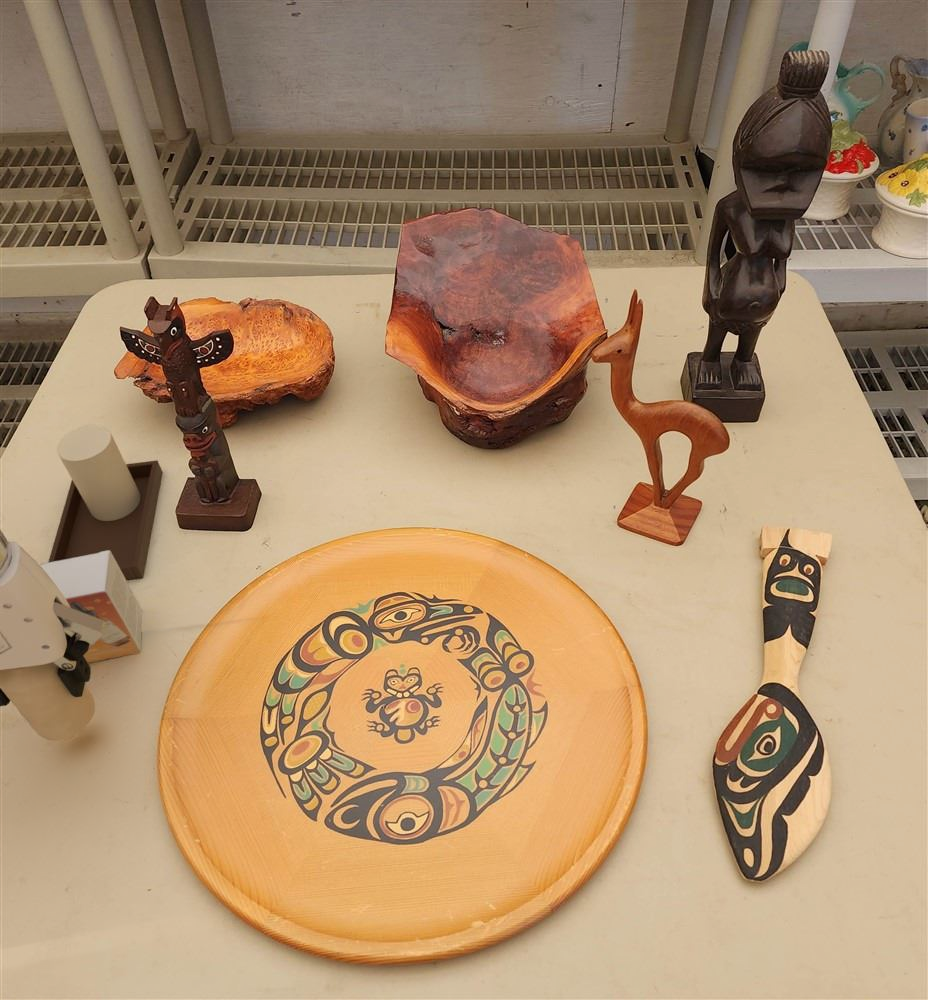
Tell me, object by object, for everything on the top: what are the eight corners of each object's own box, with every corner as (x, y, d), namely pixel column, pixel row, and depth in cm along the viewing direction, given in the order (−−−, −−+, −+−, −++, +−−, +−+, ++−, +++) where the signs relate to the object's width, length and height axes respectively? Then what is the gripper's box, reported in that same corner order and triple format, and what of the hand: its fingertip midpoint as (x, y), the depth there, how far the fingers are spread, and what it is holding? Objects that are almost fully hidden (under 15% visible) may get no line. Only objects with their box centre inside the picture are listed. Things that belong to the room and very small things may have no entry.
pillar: (86, 524, 102) (51, 463, 95) (95, 488, 106) (62, 428, 99) (136, 518, 102) (106, 456, 95) (144, 482, 107) (115, 421, 99)
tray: (52, 593, 96) (43, 579, 94) (82, 485, 108) (74, 470, 106) (144, 581, 96) (136, 566, 94) (164, 475, 108) (157, 460, 106)
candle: (91, 736, 78) (49, 676, 70) (29, 746, 77) (-21, 687, 70) (99, 684, 82) (60, 621, 74) (39, 693, 81) (-6, 631, 74)
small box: (63, 669, 89) (19, 608, 81) (69, 626, 93) (27, 564, 85) (142, 653, 90) (105, 591, 82) (145, 611, 93) (110, 548, 86)
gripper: (-194, 610, 60) (-68, 737, 73) (58, 582, 61) (138, 713, 74) (-153, 530, 65) (-43, 662, 78) (79, 505, 66) (149, 640, 79)
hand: (44, 686), depth 76 cm, fingers closed on candle, 5 cm apart
